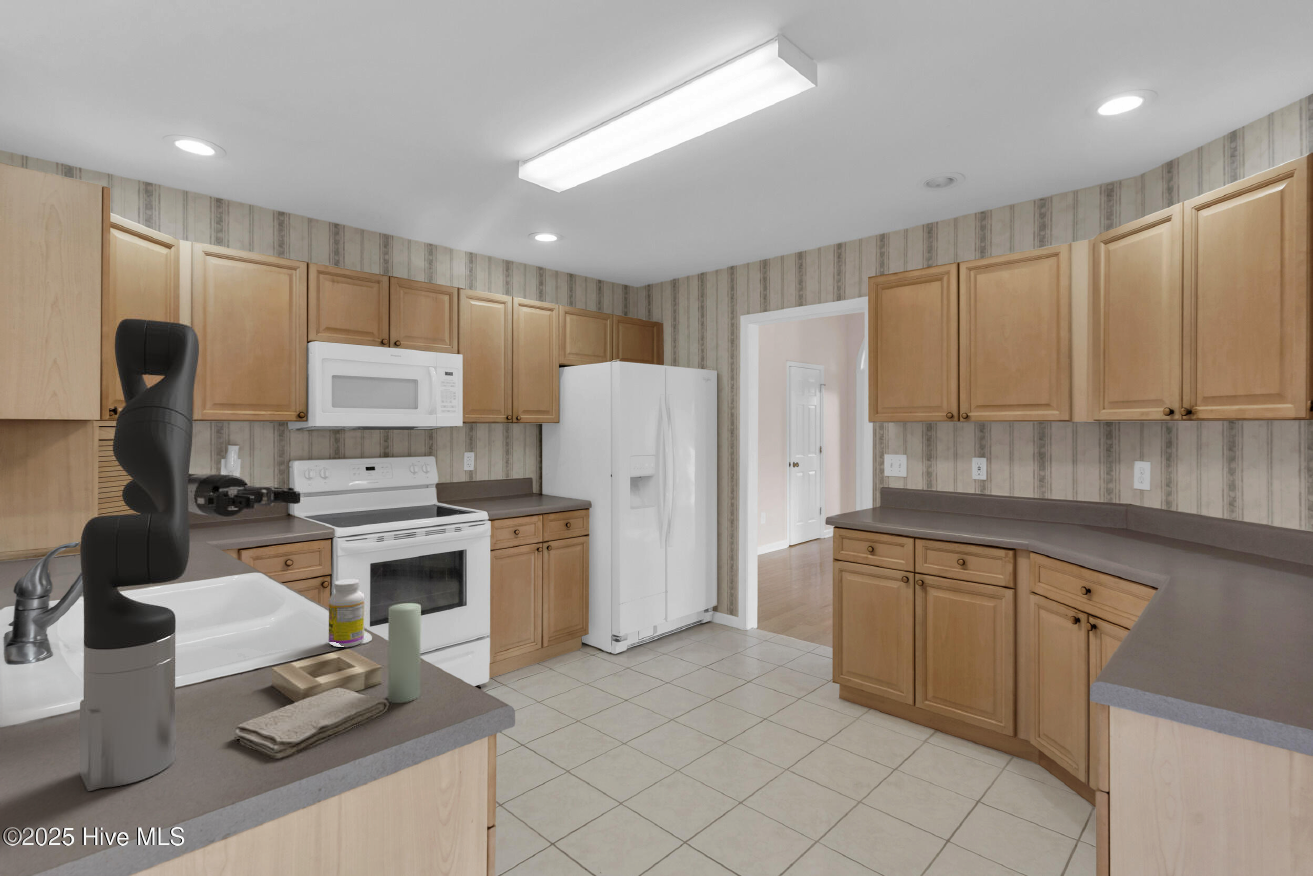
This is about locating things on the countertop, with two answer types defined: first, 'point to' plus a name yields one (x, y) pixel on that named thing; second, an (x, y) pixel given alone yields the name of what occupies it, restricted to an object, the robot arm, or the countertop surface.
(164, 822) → the countertop surface
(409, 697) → the green cylinder
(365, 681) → the pocket block
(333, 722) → the washcloth
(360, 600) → the supplement bottle
